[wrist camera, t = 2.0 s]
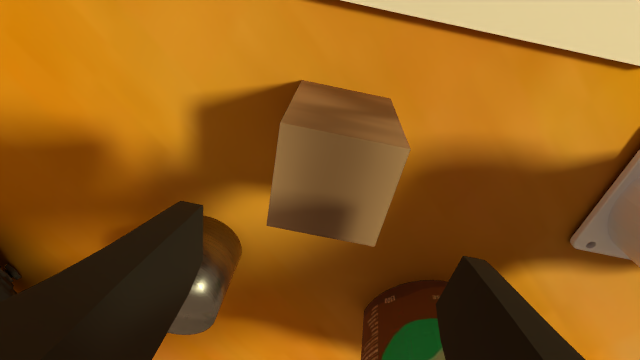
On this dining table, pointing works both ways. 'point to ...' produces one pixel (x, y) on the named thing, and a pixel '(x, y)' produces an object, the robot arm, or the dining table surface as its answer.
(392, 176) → the walnut block
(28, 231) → the dining table surface
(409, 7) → the cream mat
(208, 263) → the charcoal metal cylinder
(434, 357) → the food container
